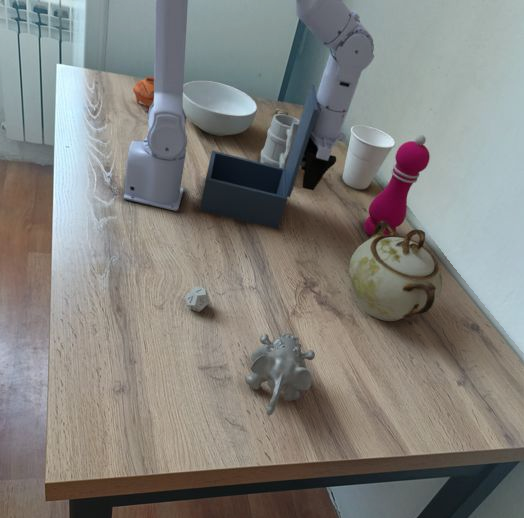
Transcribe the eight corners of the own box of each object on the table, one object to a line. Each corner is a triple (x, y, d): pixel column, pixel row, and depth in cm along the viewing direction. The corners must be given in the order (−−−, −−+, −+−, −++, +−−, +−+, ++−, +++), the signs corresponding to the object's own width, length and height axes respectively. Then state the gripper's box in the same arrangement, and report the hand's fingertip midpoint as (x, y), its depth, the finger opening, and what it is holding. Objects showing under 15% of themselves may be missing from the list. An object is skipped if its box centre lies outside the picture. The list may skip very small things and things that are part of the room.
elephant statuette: (299, 362, 75) (316, 323, 70) (316, 433, 67) (337, 394, 62) (235, 358, 73) (248, 316, 68) (245, 431, 65) (260, 390, 59)
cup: (327, 180, 118) (344, 132, 111) (342, 167, 125) (360, 120, 118) (367, 200, 116) (387, 152, 109) (381, 185, 123) (401, 139, 116)
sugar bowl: (444, 346, 86) (494, 272, 76) (363, 348, 81) (405, 269, 71) (393, 269, 99) (430, 197, 89) (320, 266, 94) (350, 189, 83)
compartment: (199, 211, 97) (205, 179, 92) (206, 180, 105) (211, 150, 101) (278, 229, 99) (287, 199, 95) (278, 198, 107) (287, 169, 103)
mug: (289, 159, 121) (305, 106, 113) (298, 186, 113) (316, 131, 105) (256, 153, 119) (270, 98, 111) (263, 180, 111) (278, 123, 103)
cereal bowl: (164, 126, 117) (168, 93, 112) (193, 104, 129) (198, 73, 125) (237, 153, 116) (244, 121, 112) (259, 129, 129) (266, 99, 124)
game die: (213, 309, 79) (216, 293, 77) (194, 318, 76) (197, 302, 74) (197, 295, 80) (200, 280, 78) (178, 304, 78) (180, 288, 76)
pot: (126, 107, 118) (130, 74, 115) (137, 104, 125) (141, 73, 122) (161, 117, 118) (166, 84, 115) (170, 114, 125) (175, 83, 122)
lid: (313, 109, 84) (341, 116, 84) (310, 83, 92) (335, 90, 93) (286, 196, 94) (310, 202, 95) (285, 166, 103) (308, 172, 103)
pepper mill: (394, 246, 105) (443, 149, 91) (359, 234, 105) (403, 136, 91) (395, 228, 110) (441, 134, 97) (362, 217, 110) (403, 121, 96)
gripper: (359, 128, 84) (330, 204, 93) (350, 95, 95) (325, 166, 104) (316, 116, 83) (291, 194, 92) (312, 84, 93) (290, 157, 103)
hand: (307, 179), depth 98 cm, fingers open, 6 cm apart
